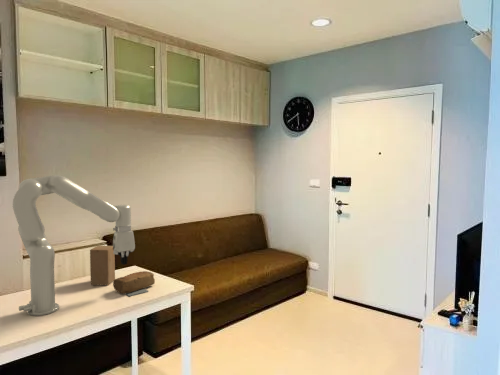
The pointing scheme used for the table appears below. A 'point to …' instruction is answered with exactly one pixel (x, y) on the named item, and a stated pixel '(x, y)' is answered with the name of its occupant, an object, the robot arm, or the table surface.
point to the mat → (136, 292)
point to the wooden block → (102, 265)
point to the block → (133, 282)
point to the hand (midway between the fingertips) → (124, 263)
